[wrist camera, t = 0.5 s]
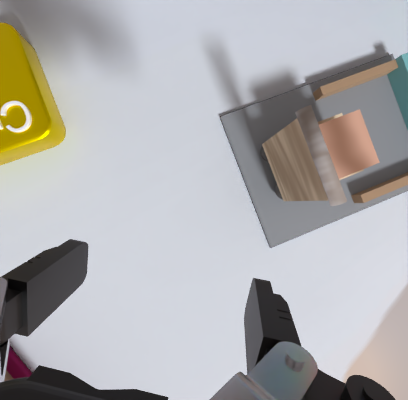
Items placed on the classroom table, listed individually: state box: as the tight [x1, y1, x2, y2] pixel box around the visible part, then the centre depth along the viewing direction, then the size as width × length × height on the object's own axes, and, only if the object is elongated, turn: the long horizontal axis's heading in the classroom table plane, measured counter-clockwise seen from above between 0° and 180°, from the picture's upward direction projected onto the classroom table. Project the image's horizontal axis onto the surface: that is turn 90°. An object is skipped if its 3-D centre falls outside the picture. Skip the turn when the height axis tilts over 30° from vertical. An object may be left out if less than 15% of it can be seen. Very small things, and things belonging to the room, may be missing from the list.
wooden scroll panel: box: [260, 105, 380, 206], centre depth 29 cm, size 11×9×14 cm
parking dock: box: [220, 53, 408, 248], centre depth 36 cm, size 28×20×4 cm
